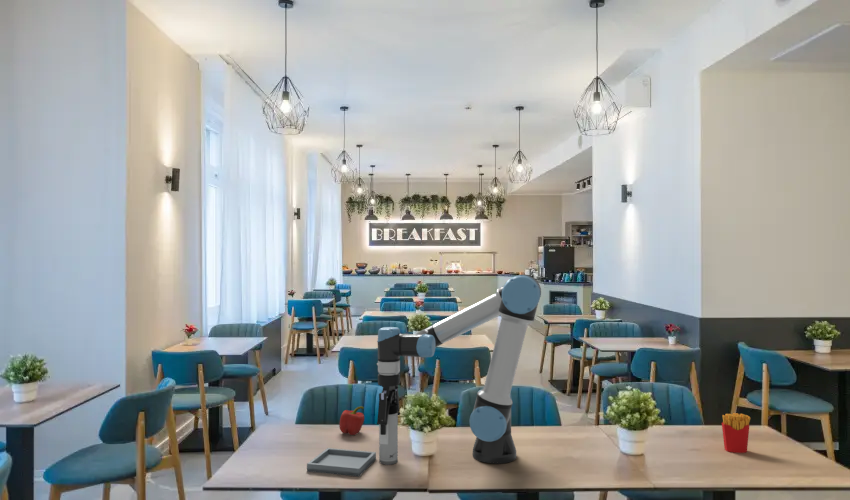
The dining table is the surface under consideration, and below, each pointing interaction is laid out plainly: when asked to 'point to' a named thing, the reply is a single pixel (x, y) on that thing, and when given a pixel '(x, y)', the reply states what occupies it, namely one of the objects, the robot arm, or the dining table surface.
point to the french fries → (735, 432)
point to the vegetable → (351, 421)
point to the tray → (341, 462)
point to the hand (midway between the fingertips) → (388, 439)
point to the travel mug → (390, 438)
